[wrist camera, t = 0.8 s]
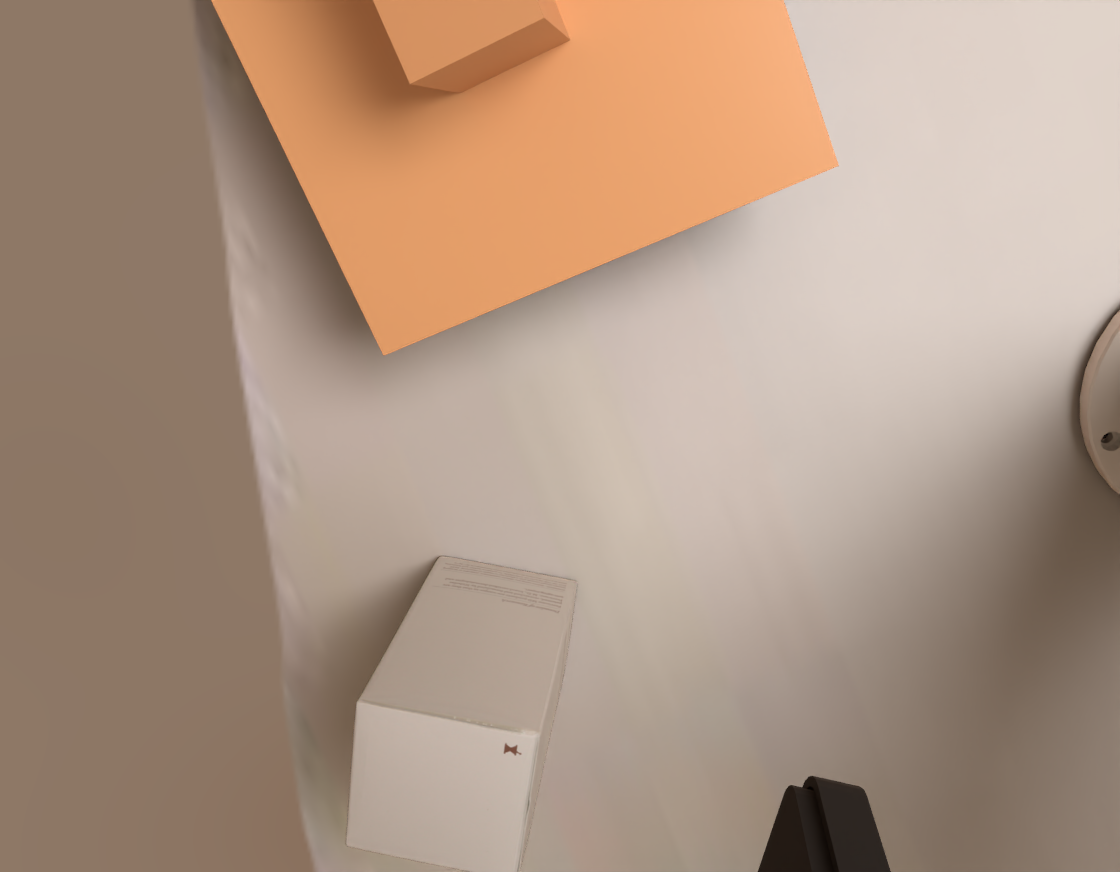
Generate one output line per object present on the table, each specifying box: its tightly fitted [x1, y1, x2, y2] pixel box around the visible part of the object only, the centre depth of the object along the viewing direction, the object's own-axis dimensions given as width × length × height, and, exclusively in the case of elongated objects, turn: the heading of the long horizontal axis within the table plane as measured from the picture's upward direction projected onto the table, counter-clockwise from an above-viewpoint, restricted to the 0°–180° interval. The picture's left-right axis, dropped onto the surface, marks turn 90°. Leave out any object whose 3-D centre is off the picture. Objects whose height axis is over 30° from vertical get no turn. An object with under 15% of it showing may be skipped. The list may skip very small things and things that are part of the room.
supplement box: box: [346, 556, 578, 872], centre depth 41 cm, size 7×7×13 cm
